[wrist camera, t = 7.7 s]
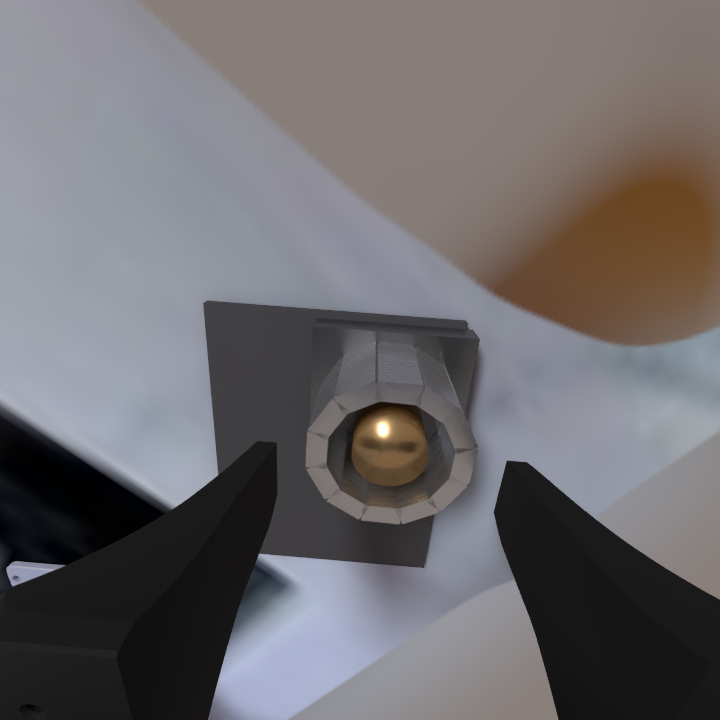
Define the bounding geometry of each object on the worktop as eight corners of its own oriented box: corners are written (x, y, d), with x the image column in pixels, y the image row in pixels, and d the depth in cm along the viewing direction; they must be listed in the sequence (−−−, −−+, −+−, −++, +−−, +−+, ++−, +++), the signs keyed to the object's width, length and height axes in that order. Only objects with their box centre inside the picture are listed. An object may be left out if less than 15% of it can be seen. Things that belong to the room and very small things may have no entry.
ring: (442, 467, 17) (457, 530, 14) (317, 454, 17) (303, 514, 14) (467, 350, 15) (492, 392, 12) (324, 336, 15) (309, 373, 12)
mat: (422, 561, 22) (423, 567, 21) (227, 544, 22) (225, 550, 22) (465, 320, 16) (467, 323, 16) (207, 300, 17) (203, 303, 16)
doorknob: (448, 459, 19) (469, 535, 14) (313, 448, 19) (294, 520, 14) (472, 329, 16) (506, 376, 12) (316, 317, 16) (294, 359, 12)
